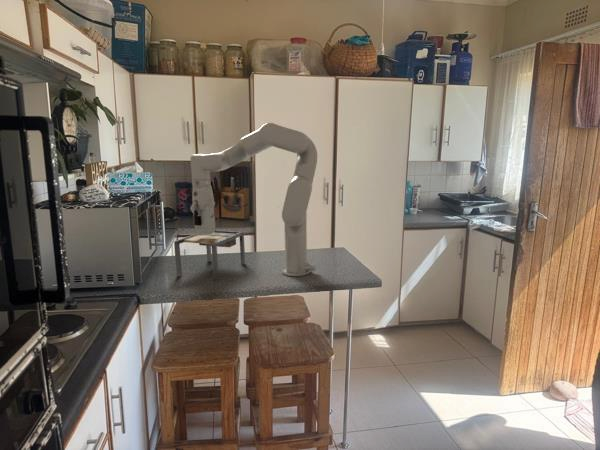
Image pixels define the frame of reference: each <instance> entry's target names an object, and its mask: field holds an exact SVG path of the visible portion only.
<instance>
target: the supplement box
mask: <svg viewBox="0 0 600 450" xmlns="http://www.w3.org/2000/svg"><path fill="white" fill-rule="evenodd" d="M195 208H196V209H199V207H198V206H196V207H195ZM197 212H198V211H197ZM200 216H201V221H202V225H201V226H200V225H195V222H194V234H195V235H208V234H212V233H213V232H215V231H216V219H215V208H213V204H209V205H205V211H201V214H200Z"/></svg>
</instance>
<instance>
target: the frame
mask: <svg viewBox="0 0 600 450" xmlns="http://www.w3.org/2000/svg"><path fill="white" fill-rule="evenodd" d="M215 230H216V229H215ZM214 233H231V234H234V235H232V236H229V237H227V238H225V239H222V240H220V241H217V242H215V243H213V244H212V246H205V248H206V260H207V262H208V263H211V262H212V271H213V272H212V273H213V281H216V282H217V281H219V280H220V277H219V276H220V275H219V261H218V260H219V259H218V247H217V246H219V245H221V244H224V243H226V242H228V241H231V240H233V239H235V238H236V239H237V238H239V251H240V265H241V266H244V265H246V252H245V234H244V231H235V230H216V231H215V232H214ZM193 236H196V235H195V233H194V234H191V235H188V236H185V237H183V238H180V239H177V240H174V241H173V245H174V254H175V255H174V257H175V268H176V277H178V278H179V277H182V276H183V272H182V261H181V260H182V259H181V257H182V256H181V248H180V244H182V243H185V242H184V240H185V239H188V238H191V237H193Z"/></svg>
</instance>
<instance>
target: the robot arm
mask: <svg viewBox="0 0 600 450" xmlns="http://www.w3.org/2000/svg"><path fill="white" fill-rule="evenodd" d="M271 147H274V148H277V149H281V150H284V151H287V152H291V153H292V154H293V153H294V154H296V163H295V166H294V167H295V168H294V171H293V175H292V179H291V181H289V183H288V187H287V189H286V194H285V198H284V203H283V207H282V211H281V218H282V221H283V223H284V228H283V229H284V257H285V258H284V260H285V263H284V264H285V267H284V268H282V270H281V272H282V274H283V275H285V276H287V277H288V276H289V277H302V276H306V275H309V274H311V272H312V271H313V272H314V271H316V270H317V266H316V265H315V264H310V261H308V247H307V246H308V245H307V244H308V243H307V239H308V238H307V237H308V235H307V232H308V231H307V217H308V216H307V215H308V214H307V211H308V207H309V203H310V199H311V195H312V190H313V182H314V177H315V173H316V169H317V164H318V151H317V147H316V145H315V144H314V142H313V140H312V139H311V138H310V137H309V136H308V135H307V134H305V133H304V132H303V131H298V130H296V129H292V128H289V127H286V126H282V125H279V124H275V123H274V122H267V123H264V124H262V126H261V127H260V128H258V129H256V130H255V131H253V132H251V133H249V134H247V135H245V136H242V138H240V139H239V140H238V142H236V144H234V145H232V146H230V147H229V148H227V149H224V150H223V151H221V152H215V153H210V154H205V153H197V154H195V153H194V154H191V156H190V168H191V181H192V182H191V183H192V195H191V196H192V197H191V198H192V204H191V205H190V206H189V207H190V208H189V210H190V211H191V213H192V216H193V221H194V222H195V224H194V226H195V225H200V226H201V225H202V221H201V216H200V214H201V211H205V205H209V204H213V208H214V209H215V205H216V201H215V198H214V197H215V196H214V193H213V187H212V185H211V172H221V171H225V170H228V169H230V168H231V167H234V166H235V165H238V164H240V163H241V162H243V161H245V160H248V159H250V158H252V157H254V156H256V155H257V154H259V153H261V152H263V151H265V150H268V149H269V148H271ZM196 206H198V207H199V209H196V208H195V207H196ZM197 211H198V212H197Z"/></svg>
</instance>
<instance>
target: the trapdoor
mask: <svg viewBox="0 0 600 450" xmlns="http://www.w3.org/2000/svg"><path fill="white" fill-rule="evenodd" d="M232 235H234V234H231V233H214V232H213V233H212V234H208V235H196V236H193V237H191V238H188V239H185V240H184V242H183V243H191V244H199V246H203V247H204V246H205V247H206V246H211V247H212V244H213V243H215V242H217V241H220V240H222V239H225V238H227V237H229V236H232ZM235 245H237V238H235V239H233V240H231V241H228V242H226V243H224V244H221V245H219V246H217V248H219V247H221V248H232V247H233V246H235Z"/></svg>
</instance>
